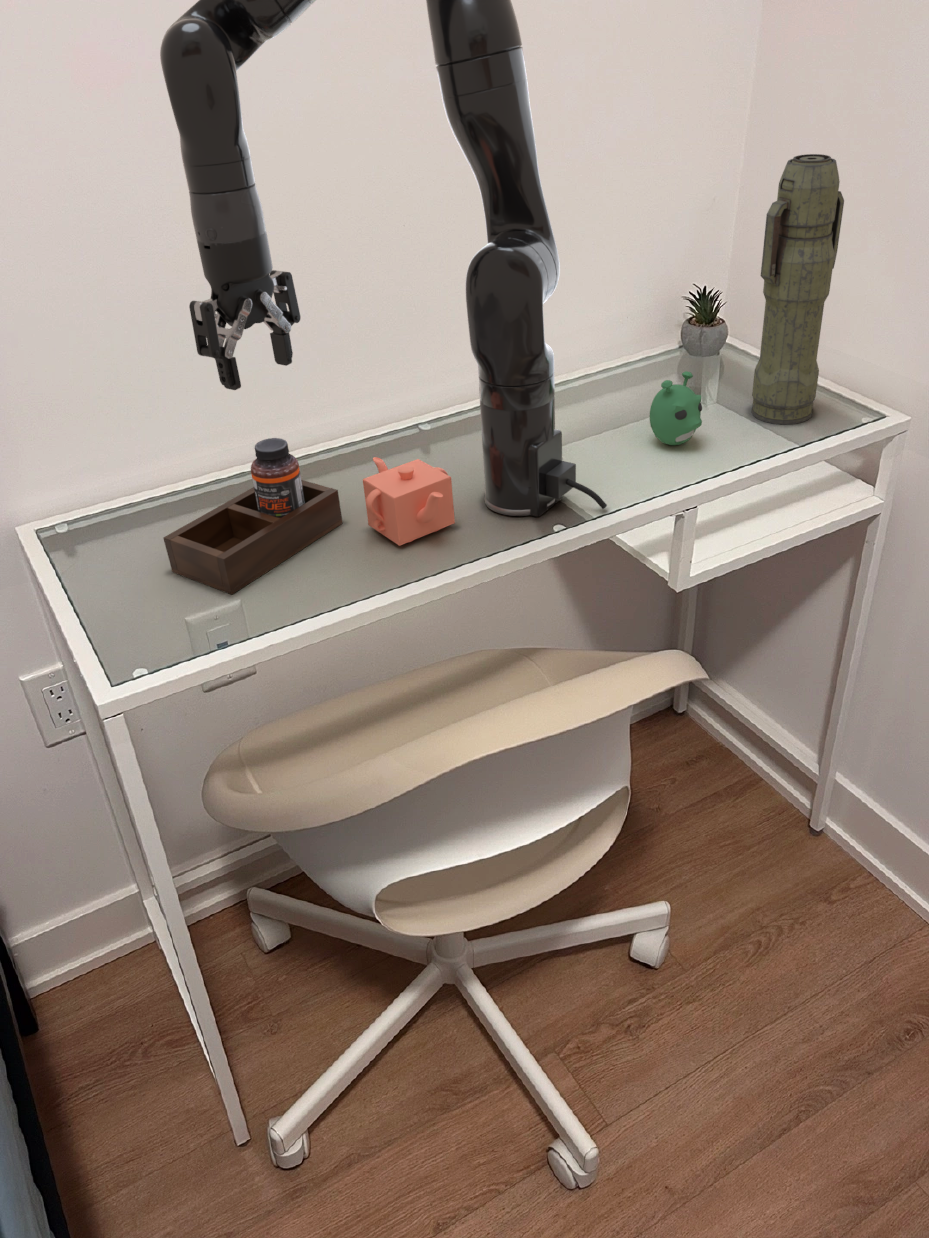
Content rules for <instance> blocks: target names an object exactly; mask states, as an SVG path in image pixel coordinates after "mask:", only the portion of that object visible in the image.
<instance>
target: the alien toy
mask: <svg viewBox="0 0 929 1238" xmlns="http://www.w3.org/2000/svg"><path fill="white" fill-rule="evenodd" d="M681 376H682V377H683V379H684V380H683V384H679V383H678V384H673V383H674V382H673V381H672V380H670V379H666V380H663V381H662V382H661V385H660V387H661V389H660V390H659V391H658V392H657V393H656V394H655V396H654V397H653V400H652V401H651V404H650V409H649V425H650V428H651V430H652V433H653V435H654V436H655V438H656V439H658V440H659V441H660V442H661V443H662V444H664V445H668V446H679V445H683V444H685V443H687V442H689V440H691V438H693V435H694V433H695V432H696V430H697V429H699V428H700V427H701V426H702V424H703V420H702V417H701V414H702V413H701V412H702V410H703V405H702V403H701V402H702V395H701V394H696V393H695V392H694V390H692V389H691V388H690V386H689V387H688V385H687V384H688V382H689V380H690V379H692V378H693V377H694V374H693V373H692V372H690V371H687V370H686V371H683V372H682V373H681Z"/></svg>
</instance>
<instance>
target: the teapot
mask: <svg viewBox="0 0 929 1238" xmlns="http://www.w3.org/2000/svg"><path fill="white" fill-rule="evenodd" d="M372 461H373V462H374V464H375V465H376V468H377V470H378V473H375V474H372V475H370V476H367V477H364V478H363V479H362V485H363V493H364V500H365V501H364V503H365V508H366V517H367V521H368V523H367V524H368V526H369V527H370V528H371V529H374V530H375V531H376V532H378V533H380V534H381V535H382V536H384V537H386V538H387V539H388V540H390V541H392V543H394V544H396V545H398V546H399V547H400V546H402V545H405V544H407V543H412V542H414V541H415V540H417V539H420V538H422V537H425V536H428V535H429V534H432V533H436V532H438V531H440V530H442V529H444V528H446V527H449V526H451V525H454V524H456V522H455V521H456V520H455V508H454V495H453V482H452V476H450V475H449V473H448V472H447V471H446V470H445V469H444V468H442V467H439V466H435V467H434V466H432V465H431V464H428V463H427V462H425V461H423V460H421V459H420V458H417V459H414V460H411V461H408V462H406V463H403V464H399V465H397V466H394V467H392V468H388V465H386V463H385V461H384V460H383V459H381V458H380V457H378V456H375V457H373V458H372Z"/></svg>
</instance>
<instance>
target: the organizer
mask: <svg viewBox="0 0 929 1238" xmlns="http://www.w3.org/2000/svg"><path fill="white" fill-rule="evenodd" d="M301 481H302V488H303V494H304V500H305V504H303V505H302V506H300V507H298V508H297V509H295V510H293V511H292V512H290V513H288V514H287V515H285V516H283V517H282V518H277V517H274V516H271V515H267V514H264V513H261V512H258V507H257V502H256V496H255V491H254V486H253V487H251V488H249V489H248V490H245V491H244V492H242V493H240V494H239V495H237V496H235V497H232V498H231V499H229V500H228V501H226V502H223V503H222V504H220V505H219V506H216V507H214V509H212V510H210V511H208V512H206V513H205V514H203V515H201V516H199V517H197V518H195V519H194V520H192V521H190V522H188V523H187V524H185V525H183V526H181V527H180V528H178V529H176V530H174V531H173V532H171V533H168V534H167V535H164V536H163V537H162V538H163V542H164V546H165V550H166V553H167V557H168V561H169V565H170V569H171V572H172V573H173V574H177V575H180V576H182V577H185V578H187V579H189V580H193V581H194V582H195V581H196V582H198V583H200V584H203V585H205V586H208V587H210V588H213V589H215V590H219V591H221V592H223V593H226V594H229V595H234V594H235V593H238V591H240V590H241V589H244V588H245V587H246V586H248V585H249V584H252V583H253V582H254V581H256V580H257V579H258V578H260V577H262V576H263V575H265V574H266V573H268V572H269V571H271V570H273V569H274V568H276V567H277V566H279V565H281V564H282V563H283V562H285V561H286V560H288V559H289V558H291V557H293V556H294V555H296V554H297V553H299V552H301V551H302V550H304V549H305V548H307V547H308V546H310V545H311V544H313V543H314V542H316V541H318V540H319V539H321V538H322V537H324V536H326V535H327V534H329V533H330V532H332V531H334V530H335V529H336V528H338V527H339V526H341V525H342V524H343V523H344V522H343V516H342V515H343V514H342V509H341V503H340V502H341V501H340V496H339V489H336V488H333V487H328V486H326V485H322V484H318V483H315V482H311V481H307V480H304V479H301Z"/></svg>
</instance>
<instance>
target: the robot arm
mask: <svg viewBox="0 0 929 1238" xmlns="http://www.w3.org/2000/svg"><path fill="white" fill-rule="evenodd" d="M316 1H317V0H198V1H197V2H195V3H194V4H193V5H192V6H191V7H190V8H189V9H187V10H186V12H184V13H183V14H181V16H180V17H178V18H177V19H176V20H175V21H173V23H172V24H171V25H170V26H169V27H168V28H167V30H166V31H165V33H164V36H163V38H162V40H161V44H160V49H159V57H160V58H159V59H160V65H161V71H162V74H163V79H164V82H165V86H166V91H167V95H168V98H169V102H170V106H171V110H172V113H173V117H174V121H175V125H176V127H177V131H178V134H179V135H178V136H179V145H180V147H179V148H180V154H181V160H182V165H183V170H184V175H185V179H186V185H187V189H188V194H189V204H190V205H189V206H190V214H191V220H192V223H193V229H194V232H195V233H194V234H195V238H196V244H197V247H198V248H197V249H198V251H199V252H198V253H199V256H200V262H201V267H202V272H203V276H204V278H205V279H206V281H207V283H208V284H209V286H210V290H211V291H210V298H209V299H205V300H202V301H201V300H192V301H190V303H189V307H188V308H189V313H190V319H191V324H192V328H193V329H192V330H193V335H194V342H195V346H196V352H197V355H198V356H200V357H206V358H207V357H208V358H212V359H214V361H215V365H216V370H217V373H218V378H219V382H220V384H221V385H222V386H223V387H224V388H225V389H227V390H230V391H231V390H232V391H237V390H239V389H241V388H242V383H241V377H240V373H239V368H238V363H237V358H236V356H234V353H235V351H236V347H237V343H238V341H240V340H242V337H243V334H244V330H248V329H250V328H251V327H253V326H254V325H255V324H262V323H264V325H266V326H267V327H268V329H269V330H270V331H271V332H269V336H270V341H271V348H272V352H273V358H274V362H275V363H276V364H277V365H279V366H280V365H281V366H285V367H286V366H289V365H291V364H292V363H293V355H294V352H293V348H292V341H291V335H290V332H291V330H292V326H293V325H294V324H299V323H300V321H301V313H300V307H299V303H298V297H297V293H296V288H295V284H294V279H293V275H292V273H291V272H290V271H283V270H275V269H274V268H273V261H272V256H271V250H270V245H269V239H268V232H267V227H266V221H265V215H264V210H263V205H262V201H261V198H260V194H259V192H258V188H257V184H256V178H255V171H254V167H253V160H252V156H251V150H250V146H249V142H248V139H247V135H246V133H245V130H244V124H243V113H242V106H241V105H242V104H241V96H240V90H239V89H240V88H239V82H238V81H239V80H238V74H237V72H238V71H239V70H240V69H241V67H243V65H244V64H246V63H247V62H248V61H249V60H250V58H252V57H253V55H254V54H256V52H257V51H258V50H259V49H261V47H262V46H263V45H264V44H266V43H267V42H269V41H271V40H273V39H275V38H277V37H278V36H279V35H281V34H282V33H284V32H285V30H287V29H288V28H290V27H291V25H292V24H294V22H296V21H297V20H298V19H299V18H300V17H301V16H302V15H303V14H304V13H305V12H306V11H307V10H309V8H310V7H311V6H312V5H314V3H315V2H316ZM425 3H426V10H427V18H428V24H429V31H430V37H431V43H432V52H433V58H434V64H435V69H436V75H437V79H438V84H439V90H440V95H441V100H442V105H443V109H444V112H445V113H444V114H445V116H446V120H447V122H448V126H449V128H450V129H451V132H452V135H453V136H454V139H455V141H456V142H457V144H458V146H459V148H460V150H461V153H462V154H463V156H464V158H465V160H466V162H467V164H468V165H469V167H470V169H471V172H472V173H473V176H474V179H475V181H476V184H477V186H478V190H479V193H480V199H481V203H482V208H483V214H484V223H485V231H486V232H485V233H486V243H487V244H486V245H485V246H483V247H481V248H480V249H479V250H478V251H476V253H474V256H473V257H472V258H471V259H470V262H469V264H468V267H467V269H466V270H467V271H466V275H465V303H466V315H467V325H468V336H469V343H470V349H471V353H472V356H473V358H474V360H475V362H476V365H477V376H478V391H479V393H478V394H479V409H480V410H479V411H480V427H481V447H482V459H483V460H482V462H483V464H482V465H483V479H484V481H483V482H484V503H485V505H486V507H487V508H488V509H489V510H491V511H493V512H495V513H497V514H500V515H505V516H510V517H511V516H513V517H514V516H515V517H524V516H525V517H526V516H532V517H537V518H539V517H541V516H542V515H543V514H544V513H546V512H547V511H548V510H549V509H550V508H552V507H554V505H555V504H557V503H558V502H559V501H561V500H562V499H563V496H565V495H566V494H567V493H568V492H570V491H571V490H572V489H575V490H578V491H580V492H581V493H584V494H585V495H587V496H589V497H590V498H591V499H593V500H594V502H596V503H597V504H598V506H599V507H600V508H601V509H602V510H605V509H606V508H607V506H608V504H607V503H606V501H604V500H603V498H602V497H601V496H600V495H599V494H597V493H596V492H595V491H594V490H592V489H591V488H589V487H587V486H585V485H584V484H581V483H579V482H577V481H576V480H577V464H576V463H574V462H570V461H565V460H563V432H562V430H561V429H558V428H556V408H555V407H556V401H555V400H556V399H555V398H556V397H555V395H556V392H555V389H556V388H555V353H554V350H553V348H552V347H551V346H550V345H549V344H548V343H547V342H546V338H545V322H544V320H545V319H544V304H545V303H546V302H547V301H549V299H550V298H551V297H552V295H553V294H554V292H555V290H556V289H557V286H558V283H559V279H560V275H561V262H560V256H559V251H558V247H557V243H556V238H555V235H554V231H553V227H552V223H551V219H550V216H549V212H548V208H547V204H546V199H545V195H544V190H543V186H542V181H541V176H540V170H539V162H538V161H539V160H538V152H537V144H536V135H535V129H534V122H533V114H532V109H531V100H530V93H529V83H528V75H527V68H526V63H525V61H526V60H525V56H524V50H523V46H522V45H523V43H522V36H521V32H520V28H519V27H520V26H519V23H518V20H517V19H518V18H517V15H516V13H515V10H514V9H515V8H514V6H513V3H512V0H425ZM273 297H274V301H273V300H272V298H273ZM227 325H229V326H230V327H231V328H227Z"/></svg>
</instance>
